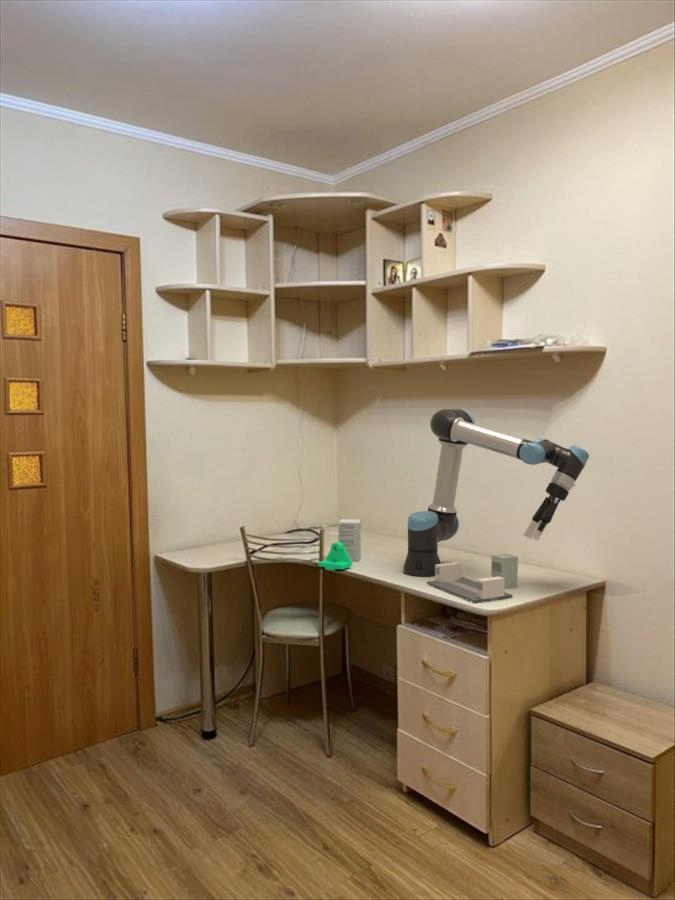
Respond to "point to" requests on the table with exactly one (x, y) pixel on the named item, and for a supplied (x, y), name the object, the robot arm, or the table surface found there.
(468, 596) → the rail plate
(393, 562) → the table surface
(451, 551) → the table surface
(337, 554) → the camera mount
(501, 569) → the block
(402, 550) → the table surface
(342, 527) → the supplement box
